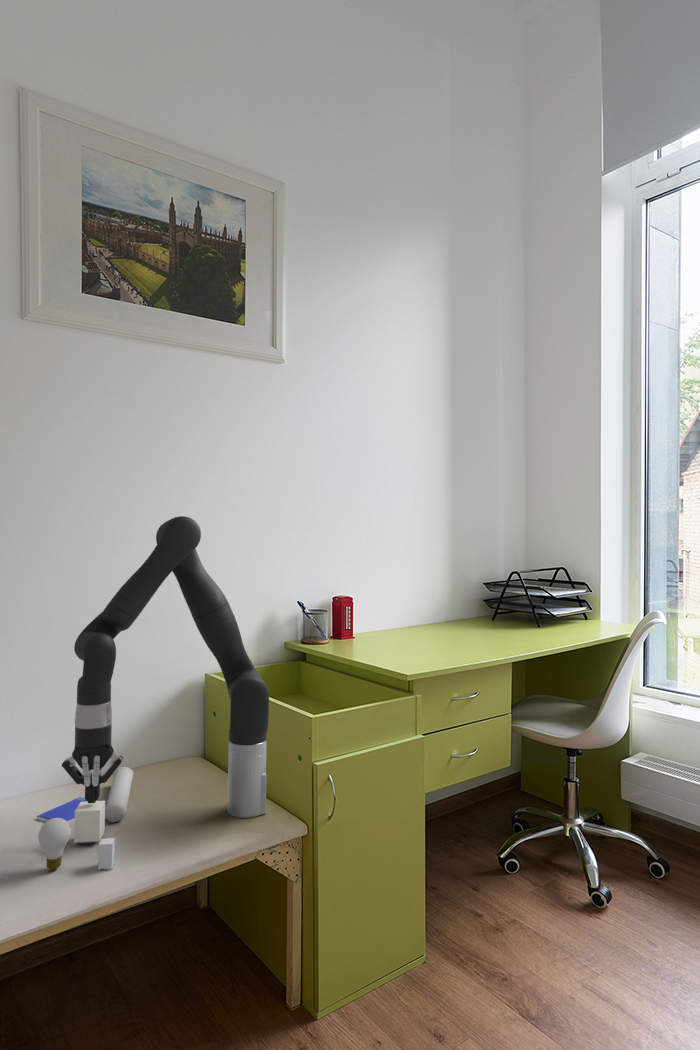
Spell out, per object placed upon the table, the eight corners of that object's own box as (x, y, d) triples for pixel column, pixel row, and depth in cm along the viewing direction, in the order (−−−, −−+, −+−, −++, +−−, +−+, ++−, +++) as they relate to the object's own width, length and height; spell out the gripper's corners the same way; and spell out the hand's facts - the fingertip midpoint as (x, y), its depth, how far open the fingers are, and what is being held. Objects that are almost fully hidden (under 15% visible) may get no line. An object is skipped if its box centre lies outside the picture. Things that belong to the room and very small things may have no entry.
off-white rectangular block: (104, 830, 145) (105, 800, 145) (99, 841, 140) (100, 810, 140) (80, 831, 144) (80, 801, 144) (73, 842, 139) (74, 811, 139)
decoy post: (114, 862, 132) (114, 838, 133) (111, 869, 130) (112, 843, 130) (100, 863, 132) (101, 838, 132) (98, 870, 129) (98, 844, 130)
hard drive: (78, 796, 164) (36, 814, 153) (103, 802, 160) (61, 821, 149) (78, 802, 164) (36, 821, 153) (102, 808, 160) (61, 828, 149)
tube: (130, 806, 151) (136, 769, 176) (107, 801, 150) (117, 764, 174) (122, 829, 151) (129, 788, 175) (99, 824, 150) (110, 783, 174)
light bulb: (75, 869, 130) (76, 818, 130) (45, 880, 125) (46, 828, 125) (61, 859, 133) (63, 810, 134) (32, 869, 129) (33, 819, 129)
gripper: (127, 716, 148) (126, 793, 147) (66, 719, 145) (64, 797, 145) (121, 726, 140) (120, 807, 140) (57, 728, 138) (55, 810, 137)
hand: (92, 801), depth 142 cm, fingers closed
